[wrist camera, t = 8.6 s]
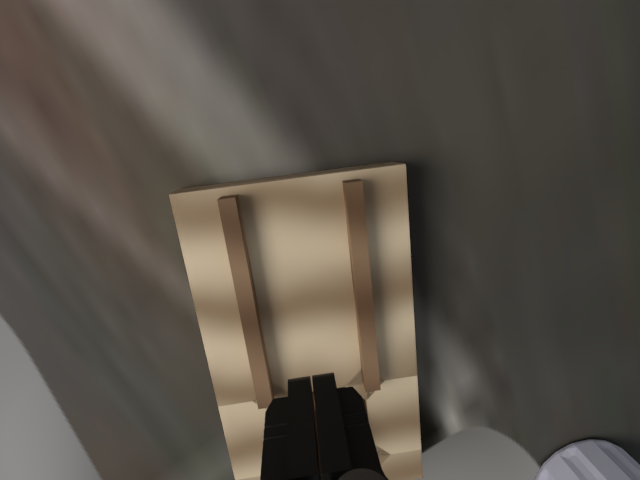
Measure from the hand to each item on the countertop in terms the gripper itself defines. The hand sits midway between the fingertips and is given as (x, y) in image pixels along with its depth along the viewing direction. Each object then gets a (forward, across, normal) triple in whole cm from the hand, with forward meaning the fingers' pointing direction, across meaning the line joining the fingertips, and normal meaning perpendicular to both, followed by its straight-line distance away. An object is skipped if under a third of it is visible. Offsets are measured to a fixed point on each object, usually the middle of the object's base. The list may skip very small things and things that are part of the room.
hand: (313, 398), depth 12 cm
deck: (+14, 0, +7) cm, 16 cm away
